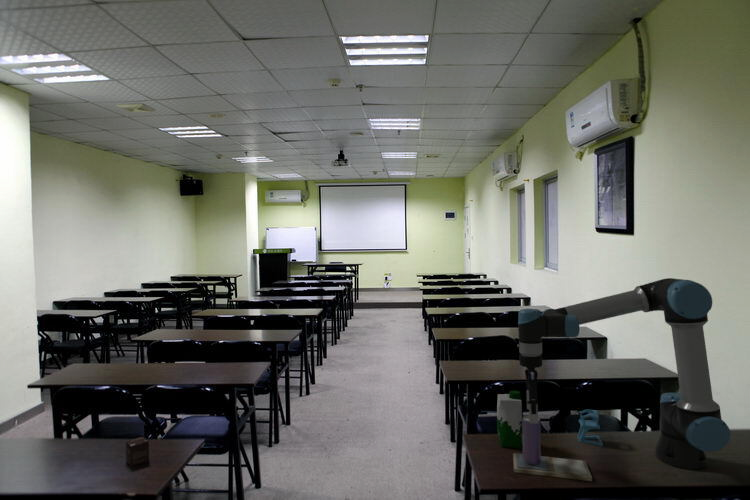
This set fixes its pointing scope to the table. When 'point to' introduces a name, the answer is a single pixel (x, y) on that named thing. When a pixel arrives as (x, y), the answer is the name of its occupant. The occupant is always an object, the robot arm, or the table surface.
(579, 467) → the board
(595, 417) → the chair
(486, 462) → the table surface
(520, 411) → the milk carton
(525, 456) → the beverage can
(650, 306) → the robot arm
